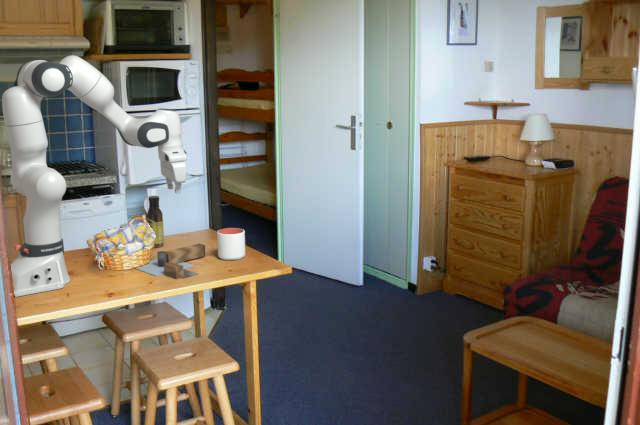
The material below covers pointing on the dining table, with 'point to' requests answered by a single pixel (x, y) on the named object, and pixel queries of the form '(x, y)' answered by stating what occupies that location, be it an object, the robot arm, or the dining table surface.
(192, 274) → the stop block
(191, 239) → the dining table surface
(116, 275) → the dining table surface
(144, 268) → the blue-grey square mat
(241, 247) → the cup
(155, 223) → the sauce bottle
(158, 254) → the leg
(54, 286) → the robot arm
